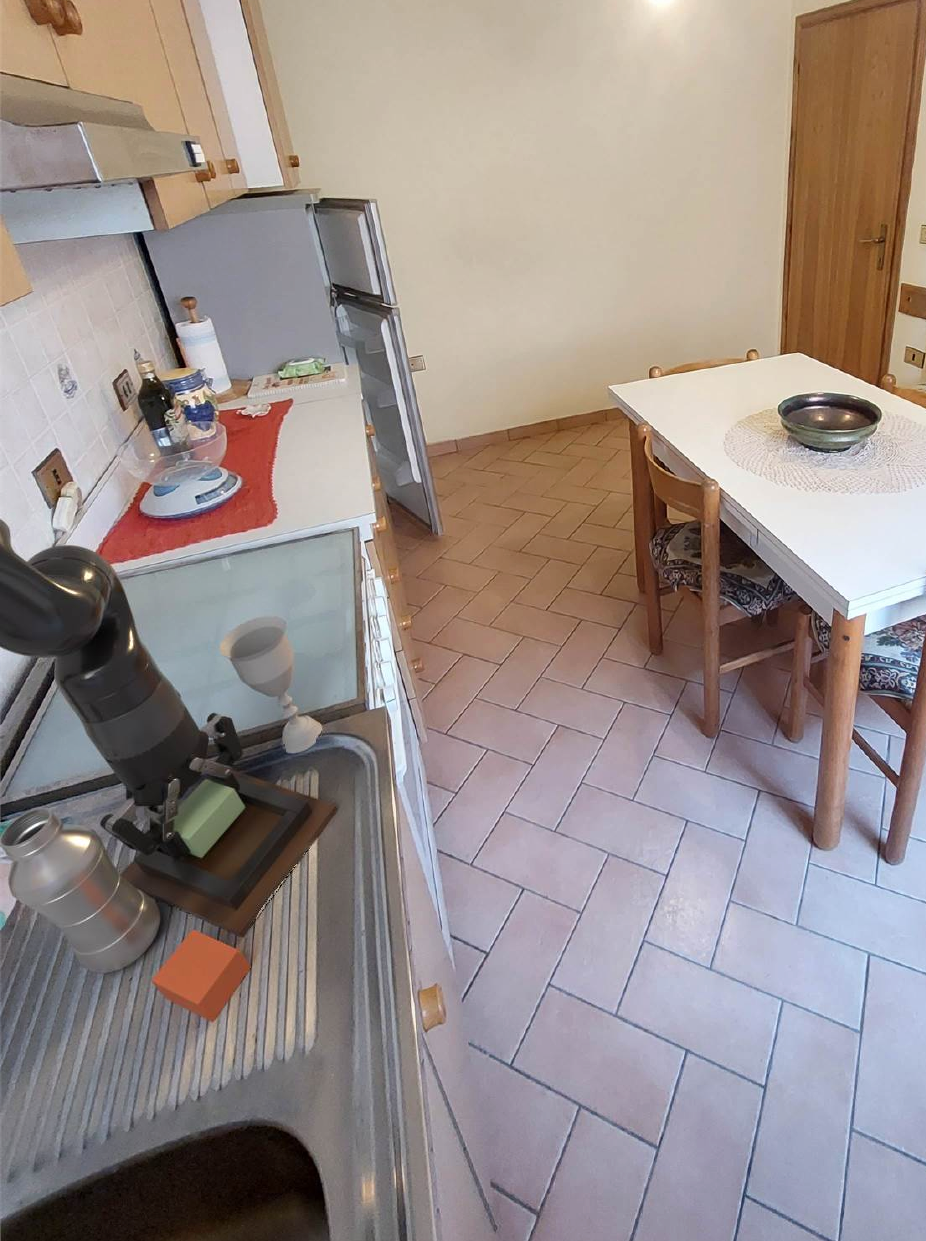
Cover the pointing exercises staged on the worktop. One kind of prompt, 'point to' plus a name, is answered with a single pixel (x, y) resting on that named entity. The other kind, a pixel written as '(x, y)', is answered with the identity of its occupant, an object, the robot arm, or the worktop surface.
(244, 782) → the back frame
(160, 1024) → the worktop surface
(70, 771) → the worktop surface
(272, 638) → the chalice
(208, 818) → the sage pad
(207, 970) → the terracotta pad
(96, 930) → the metal milk can
